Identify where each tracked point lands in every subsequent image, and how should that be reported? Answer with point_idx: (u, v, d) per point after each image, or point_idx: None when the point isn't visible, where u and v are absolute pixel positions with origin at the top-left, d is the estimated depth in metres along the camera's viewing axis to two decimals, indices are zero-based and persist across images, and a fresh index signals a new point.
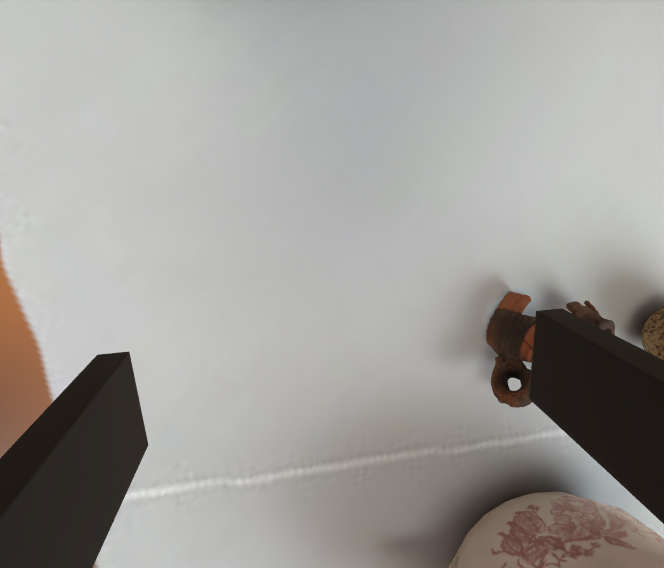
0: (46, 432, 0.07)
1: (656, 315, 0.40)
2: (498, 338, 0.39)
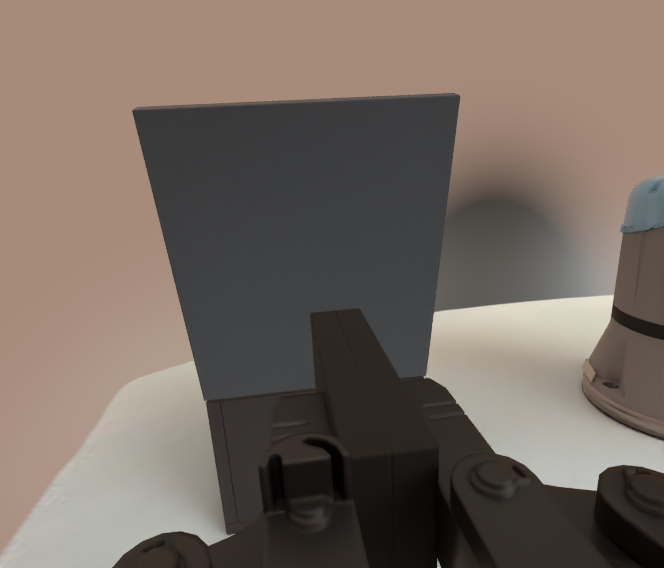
0: (338, 359, 0.09)
1: None
2: None
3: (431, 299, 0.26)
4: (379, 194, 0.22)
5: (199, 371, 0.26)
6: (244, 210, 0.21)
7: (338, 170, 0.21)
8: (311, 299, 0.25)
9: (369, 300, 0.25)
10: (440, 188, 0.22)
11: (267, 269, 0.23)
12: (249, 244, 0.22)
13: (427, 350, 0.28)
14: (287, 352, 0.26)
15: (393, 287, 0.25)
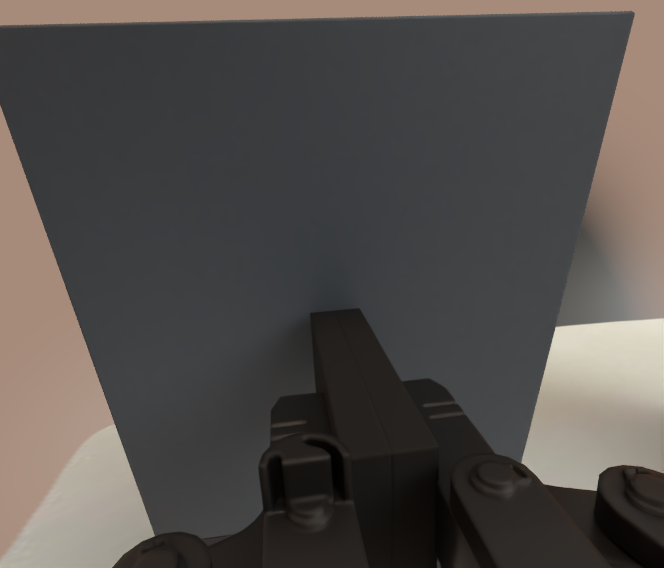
0: (338, 360, 0.09)
1: None
2: None
3: (535, 382, 0.15)
4: (464, 207, 0.12)
5: (147, 503, 0.16)
6: (216, 236, 0.11)
7: (393, 159, 0.11)
8: None
9: None
10: (574, 196, 0.12)
11: (260, 340, 0.13)
12: (227, 296, 0.12)
13: (519, 460, 0.17)
14: None
15: (475, 365, 0.15)
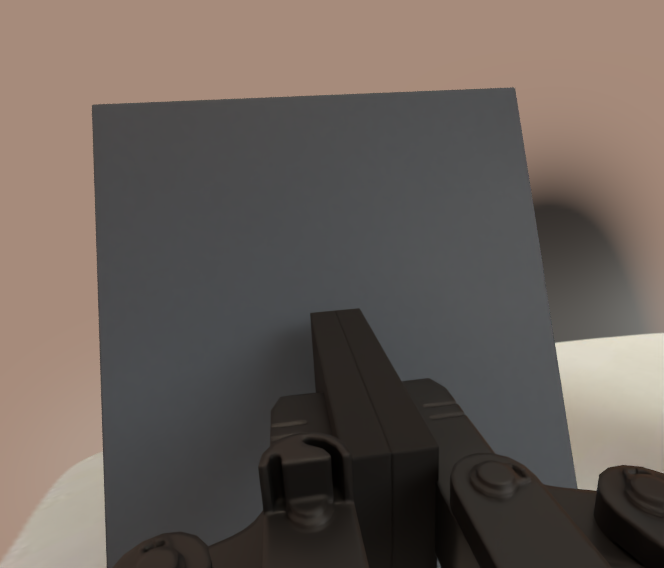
0: (338, 359, 0.09)
1: None
2: None
3: (557, 405, 0.14)
4: (432, 215, 0.15)
5: None
6: (229, 239, 0.14)
7: (367, 179, 0.15)
8: None
9: None
10: (521, 206, 0.15)
11: (262, 343, 0.14)
12: (234, 295, 0.14)
13: None
14: None
15: (484, 379, 0.14)
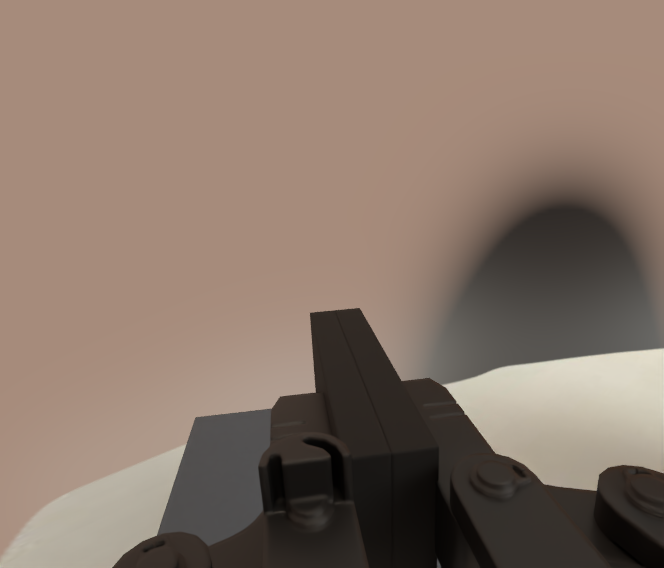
0: (338, 360, 0.09)
1: None
2: None
3: None
4: None
5: None
6: None
7: None
8: None
9: None
10: None
11: None
12: None
13: None
14: None
15: None
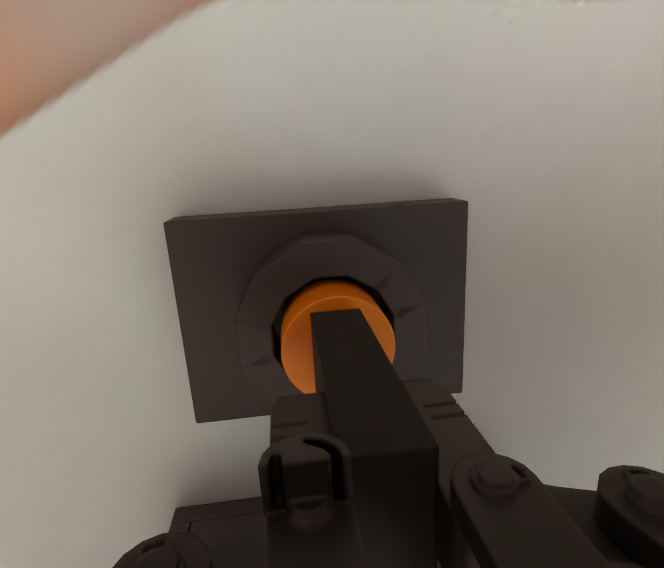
0: (338, 360, 0.09)
1: None
2: None
3: None
4: None
5: None
6: None
7: None
8: None
9: None
10: None
11: None
12: None
13: None
14: None
15: None
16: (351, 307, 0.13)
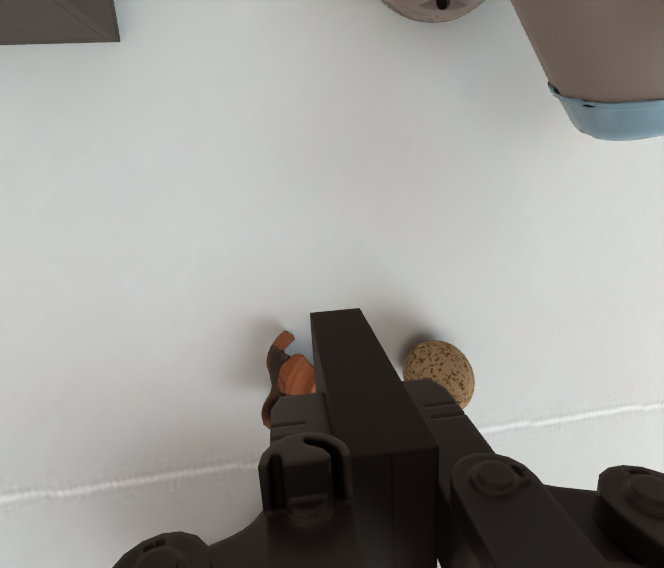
0: (338, 360, 0.09)
1: (411, 350, 0.47)
2: (270, 371, 0.46)
3: None
4: None
5: None
6: None
7: None
8: None
9: None
10: None
11: None
12: None
13: None
14: None
15: None
16: None
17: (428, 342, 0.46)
